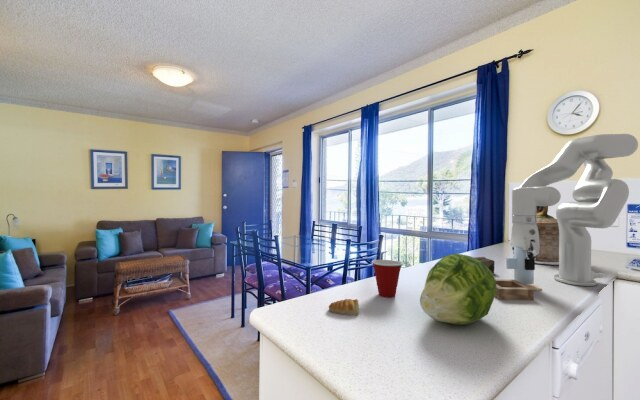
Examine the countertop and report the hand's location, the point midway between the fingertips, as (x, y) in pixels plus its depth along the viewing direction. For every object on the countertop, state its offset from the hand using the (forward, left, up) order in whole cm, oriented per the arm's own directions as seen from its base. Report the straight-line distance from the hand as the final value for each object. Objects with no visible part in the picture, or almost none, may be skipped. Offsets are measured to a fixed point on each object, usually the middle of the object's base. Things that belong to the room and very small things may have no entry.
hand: (523, 267), depth 108 cm
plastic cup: (+53, +12, -8) cm, 54 cm away
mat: (0, 0, -7) cm, 7 cm away
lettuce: (+37, +31, -8) cm, 48 cm away
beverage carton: (+12, -19, -8) cm, 24 cm away
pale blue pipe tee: (0, 0, -6) cm, 6 cm away
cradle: (+11, +9, -7) cm, 16 cm away
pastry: (+67, +27, -8) cm, 73 cm away
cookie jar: (-35, -45, -8) cm, 58 cm away
